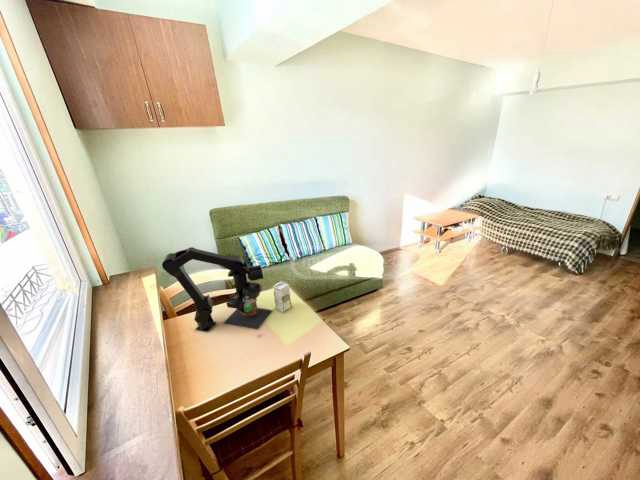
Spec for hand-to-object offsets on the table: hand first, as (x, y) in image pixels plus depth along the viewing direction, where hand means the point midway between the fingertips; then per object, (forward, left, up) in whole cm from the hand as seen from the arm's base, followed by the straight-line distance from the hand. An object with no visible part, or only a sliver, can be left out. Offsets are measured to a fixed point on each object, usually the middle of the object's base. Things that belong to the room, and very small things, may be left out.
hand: (246, 308), depth 137 cm
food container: (0, 0, -3) cm, 3 cm away
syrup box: (+14, +11, -5) cm, 19 cm away
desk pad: (0, 0, -5) cm, 5 cm away
